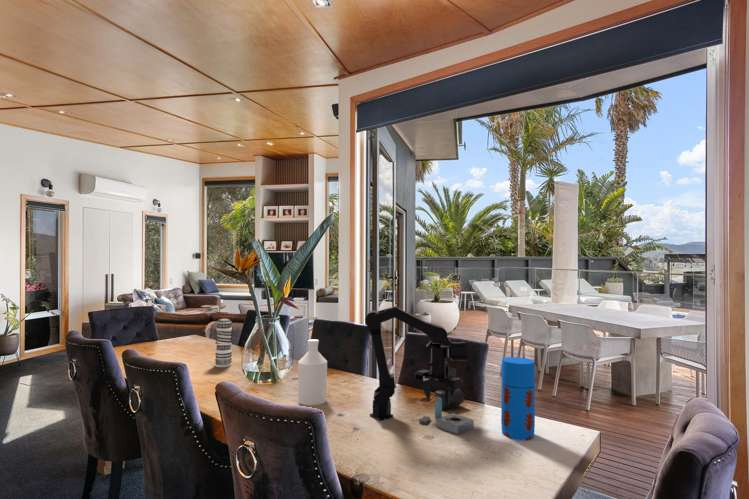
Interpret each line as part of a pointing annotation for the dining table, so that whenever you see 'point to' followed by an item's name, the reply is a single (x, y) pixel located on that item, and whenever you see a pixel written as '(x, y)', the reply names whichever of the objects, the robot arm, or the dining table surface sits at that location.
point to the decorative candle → (223, 343)
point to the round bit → (438, 408)
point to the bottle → (312, 376)
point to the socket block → (455, 423)
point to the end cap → (455, 401)
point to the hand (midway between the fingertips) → (438, 401)
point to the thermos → (518, 398)
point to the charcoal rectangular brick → (425, 420)
